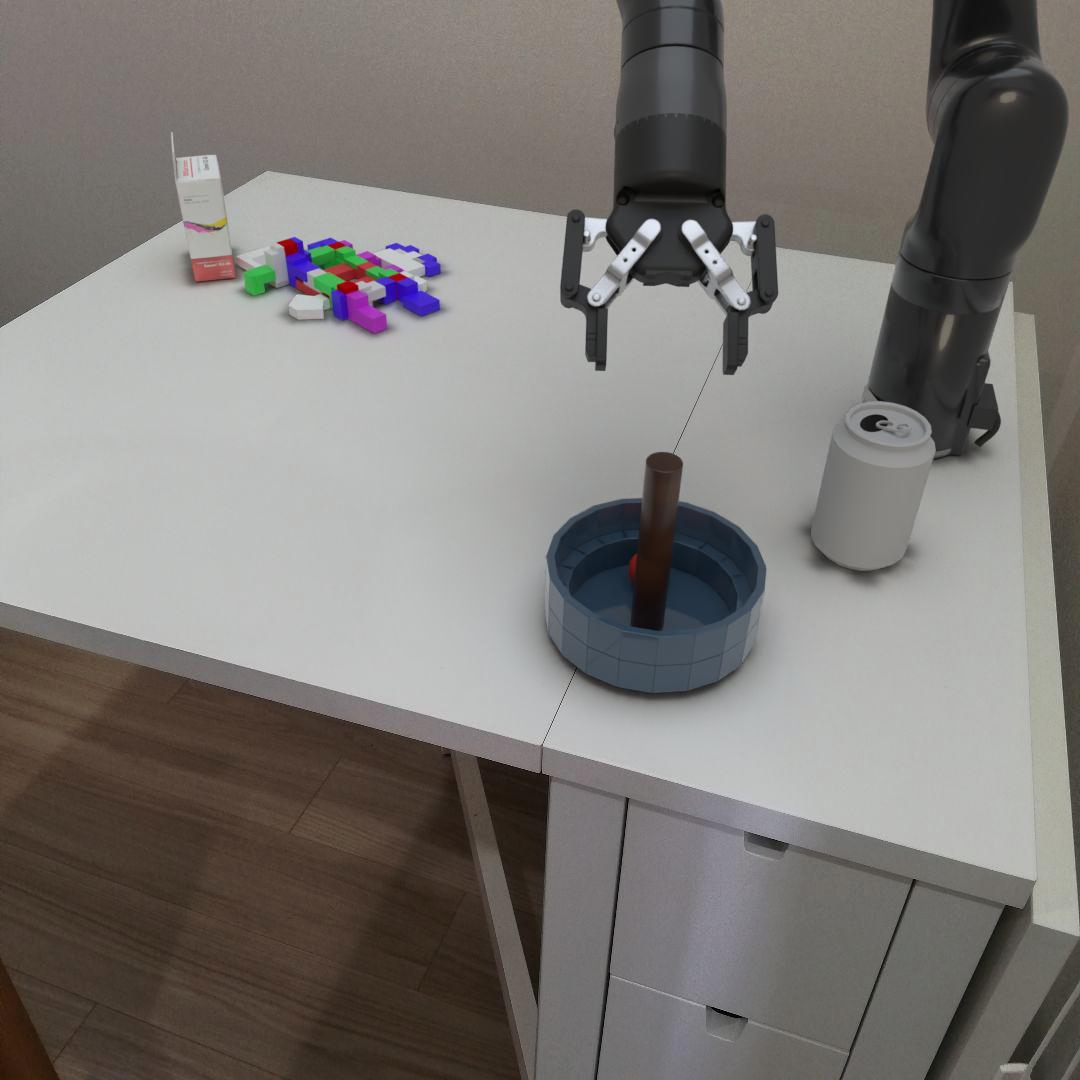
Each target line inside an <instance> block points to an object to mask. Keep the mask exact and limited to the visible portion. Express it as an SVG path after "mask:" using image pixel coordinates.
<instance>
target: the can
mask: <svg viewBox="0 0 1080 1080" xmlns="http://www.w3.org/2000/svg"><path fill="white" fill-rule="evenodd" d="M931 433H932V430H931V425H930V424H929V422H928V421H927V419H926V418H925V417H924V416H922V415H921V414H919V413H918V412H917V411H915V410H913V409H910V408H908V407H906V406H903V405H899V404H895V403H890V402H882V401H875V402H865V403H863V402H861V403H857V404H855V405H853V406H852V407H850V408H848V410H847V411H846V413H845V414H844V418H842V419H841V420H839V421H838V422H837V423H836V425H835V426H834V427H833V429H832V432H831V437H830V442H829V446H828V450H827V455H826V460H825V464H824V468H823V473H822V478H821V483H820V487H819V492H818V496H817V500H816V504H815V510H814V513H813V518H812V522H811V527H810V538H811V539H812V541H813V544H814V545H815V547H816V548H817V549H818V550H819V551H820V552H821V553H822V554H823V555H824V556H825V557H826V558H827V559H828V560H829V561H831V562H832V563H835V564H836V565H838V566H840V567H843V568H846V569H849V570H853V571H859V572H860V571H861V572H868V571H869V572H870V571H877V570H880V569H883V568H886V567H889V566H893V565H895V564H896V563H897V562H899V561H900V560H902V559H903V558H904V556H905V554H906V551H907V549H908V546H909V543H910V539H911V535H912V531H913V528H914V526H915V523H916V519H917V515H918V512H919V509H920V505H921V502H922V499H923V495H924V491H925V488H926V485H927V481H928V478H929V475H930V471H931V468H932V465H933V461H934V459H935V458H934V455H935V451H936V449H935V442H934V441H933V439H932V438H931V436H930V435H931Z"/></svg>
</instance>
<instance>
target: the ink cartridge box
mask: <svg viewBox="0 0 1080 1080" xmlns="http://www.w3.org/2000/svg"><path fill="white" fill-rule="evenodd" d="M170 142H171V157H172V164H173V175H174V182H175V188H176V193H177V198H178V203H179V207H180V213H181V218H182V223H183V227H184V234H185V238H186V244H187V248H188V252H189V258H190V262H191V268H192V272H193V277H194V281H195V282H204V281H215V280H223V279H224V280H225V279H236V278H237V274H236V268H235V262H234V256H233V249H232V243H231V235H230V229H229V222H228V214H227V209H226V202H225V195H224V190H223V189H224V187H223V181H222V176H221V171H220V166H219V162H218V157H217V155H216V154H205V155H195V156H194V155H192V156H183V157H176V155H175V144H174V134H173V131H171V132H170Z"/></svg>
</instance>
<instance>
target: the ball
mask: <svg viewBox="0 0 1080 1080" xmlns="http://www.w3.org/2000/svg"><path fill="white" fill-rule="evenodd" d="M636 559H637V553H636V554H635V555H634V556H633V557H632V559H631V561H630V563H629V575H630V578H631V580H632V581H633V583H634V580H635V569H636Z"/></svg>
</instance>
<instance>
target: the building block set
mask: <svg viewBox="0 0 1080 1080" xmlns="http://www.w3.org/2000/svg"><path fill="white" fill-rule="evenodd" d="M306 246H307V250H306V249H305V247H304V241H303V240H301V238H298V237H296V236H292V237H289V238H285V239H283V240H279V241H277V242H273V243H270V244H269V246H268V245H267V246H265V247H262V248H258V249H256V250H252V251H249V252H246V253H242V254H238V255H236V258H235V259H236V264H237V266H238V267H240V268H242V269H243V270H245V271H244V272H243V281H244V286H245V287H244V288H245V292H247V293H249V294H250V295H252V296H258V295H261V294H263V293H266V288H265V284H269V285H271V286H272V287H274V288H275V289H279V288H281V287H286V286H288V285H290V286H292V287H294V288H295V289H297V290H299V291H301V292H302V293H304V294H299V293H297V294H296V295H295V296H294V297H293V299H292V300H291V301H290V302H289V304H288V306H287V307H288V313H289V315H290V316H291V317H293V318H295V319H296V320H298V321H299V320H324V319H325V311H326V310H330V309H331V310H332V314H333V317H335V318H337V319H339V320H341V321H345V320H349V321H352V322H353V323H355V324H356V325H358V326H360V327H362V328H364V329H365V330H367V331H369V332H370V333H372V334H377V333H380V332H382V331H385V330H387V329H388V323H387V322H388V319H387V314H386V313H385V312H383V311H381V310H379V309H377V308H376V307H374V303H373V302H374V301H378V302H380V303H381V304H384V305H387V304H390V303H393V302H396V301H398V302H400V303H401V304H402V307H404V308H405V309H407V310H408V311H411V312H413V313H414V314H416V315H418V316H420V317H423V316H426V315H429V314H431V313H434V312H437V311H439V310H441V302H440V301H441V300H440V299H438V298H437V297H435V296H433V295H431V294H429V293H428V292H426V291H427V290H428V285H427V284H428V281H427V280H426V279H424V278H423V276H426V277H429V278H431V277H434V276H436V275H439V274H441V273H442V272H441V263H439V262H438V258H437V257H436V256H434V255H432V254H430V253H425V254H421V253H420V248H418V247H416V246H413V245H412V244H409V245H406V246H405V245H402V244H400V243H398V242H394V243H391V244H388V245H385V249H383V250H380V251H377V252H374V253H372V252H370V251H369V250H367V251H363V252H360V253H357V252H356V249H354V244H353V243H351V242H350V241H347V240H345V239H343V240H340V241H338V240H336V239H335V238H333V237H328V238H325V239H321V240H318V241H315V242H312V243H309V244H306ZM356 253H357V254H356ZM353 279H355V280H353ZM351 280H352V281H351Z"/></svg>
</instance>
